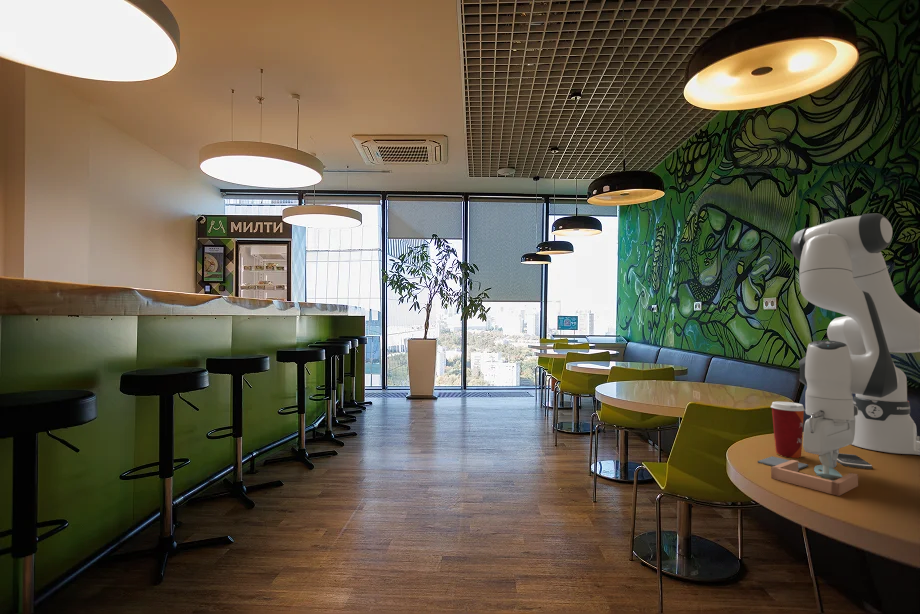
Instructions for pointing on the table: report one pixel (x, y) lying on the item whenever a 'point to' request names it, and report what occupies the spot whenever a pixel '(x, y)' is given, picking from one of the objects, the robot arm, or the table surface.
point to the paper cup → (788, 428)
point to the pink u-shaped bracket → (813, 479)
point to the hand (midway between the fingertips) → (829, 467)
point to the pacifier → (826, 469)
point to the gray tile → (779, 462)
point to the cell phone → (852, 461)
